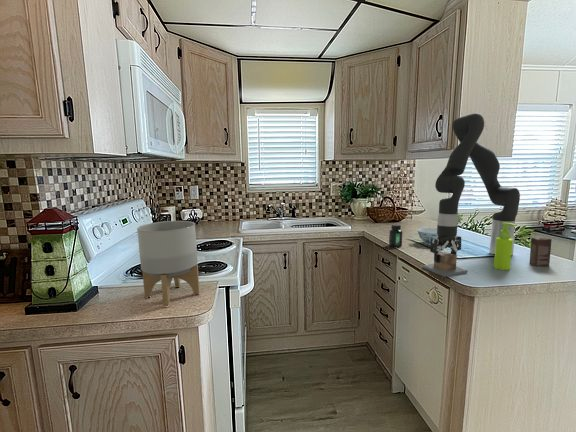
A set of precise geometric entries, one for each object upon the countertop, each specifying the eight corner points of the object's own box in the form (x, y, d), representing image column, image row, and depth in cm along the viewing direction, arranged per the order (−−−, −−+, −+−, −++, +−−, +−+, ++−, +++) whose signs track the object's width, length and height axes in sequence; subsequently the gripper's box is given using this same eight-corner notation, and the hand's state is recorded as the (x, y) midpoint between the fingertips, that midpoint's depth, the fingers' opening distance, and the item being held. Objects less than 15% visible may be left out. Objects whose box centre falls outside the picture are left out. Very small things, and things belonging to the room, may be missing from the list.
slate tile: (444, 264, 143) (444, 262, 142) (467, 273, 131) (467, 270, 131) (422, 267, 139) (423, 265, 139) (444, 276, 128) (444, 274, 127)
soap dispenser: (507, 271, 132) (512, 224, 129) (490, 267, 138) (494, 222, 135) (515, 269, 135) (520, 223, 131) (498, 265, 141) (502, 221, 137)
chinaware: (451, 244, 177) (452, 230, 176) (436, 248, 169) (437, 234, 168) (426, 239, 190) (427, 226, 188) (411, 243, 181) (412, 230, 180)
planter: (203, 284, 125) (198, 219, 120) (195, 305, 106) (189, 229, 102) (153, 287, 122) (147, 221, 118) (136, 309, 104) (128, 232, 100)
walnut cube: (444, 264, 139) (445, 251, 138) (455, 269, 133) (456, 255, 132) (433, 266, 137) (434, 253, 136) (444, 270, 131) (445, 256, 130)
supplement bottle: (400, 248, 171) (401, 226, 169) (387, 247, 174) (388, 225, 172) (403, 245, 177) (403, 224, 175) (390, 244, 180) (391, 223, 178)
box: (541, 262, 143) (544, 236, 141) (549, 266, 138) (552, 239, 136) (528, 263, 143) (530, 237, 141) (535, 266, 138) (538, 239, 136)
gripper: (453, 221, 138) (451, 257, 140) (426, 223, 133) (424, 260, 136) (468, 224, 131) (465, 261, 133) (440, 226, 126) (438, 265, 129)
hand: (444, 261), depth 134 cm, fingers open, 8 cm apart
